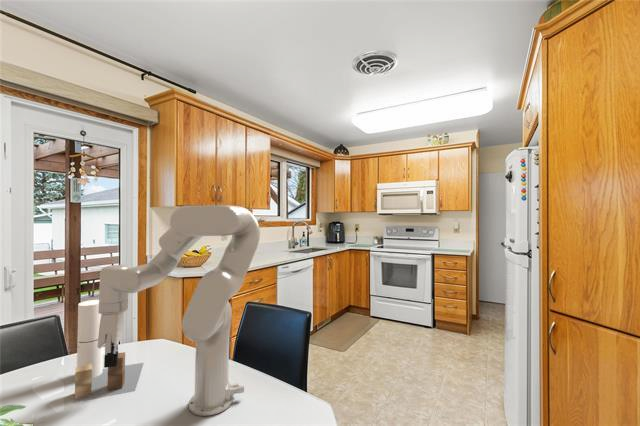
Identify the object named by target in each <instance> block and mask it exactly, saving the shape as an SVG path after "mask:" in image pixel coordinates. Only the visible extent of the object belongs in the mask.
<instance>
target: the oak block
mask: <svg viewBox="0 0 640 426" xmlns="http://www.w3.org/2000/svg"><path fill="white" fill-rule="evenodd" d="M74 369H75V371H74V372H75V375H74V376H75V379H74V399H78V398H82V397H85V396H89V395H91V386H92V364H88V365H84V366H80V367H77V366H76V367H75V368H74Z"/></svg>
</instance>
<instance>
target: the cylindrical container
mask: <svg viewBox="0 0 640 426" xmlns="http://www.w3.org/2000/svg"><path fill="white" fill-rule="evenodd" d="M77 305H78V306H77V339H76V340H77V344H76V345H77V349H76V351H77V352H76V367H80V366H84V365H88V364H92V378H95V377H97V376H99V375H100V374H101V373H102V370H103V369H104V360H103V358H104V355H103V354H104V345H103V346H102V348H98V347H97V346H98V335H99V325H100V319H101V314H99V313H98V310H99V299H93V300H92V299H91V300H90V299H89V300H86V301H82V302H79V303H78V304H77Z"/></svg>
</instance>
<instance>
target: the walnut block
mask: <svg viewBox="0 0 640 426" xmlns="http://www.w3.org/2000/svg"><path fill="white" fill-rule="evenodd" d="M125 365H126V351H125V352H118V363H117V365H116V366H114V367H107V368H108V382H107V391H111V390H117V389H122V388H123V385H124V383H125Z"/></svg>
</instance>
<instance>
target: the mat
mask: <svg viewBox="0 0 640 426" xmlns="http://www.w3.org/2000/svg"><path fill="white" fill-rule="evenodd" d="M143 366H144V362H140V363H139V362H138V363H133V364H125V383H124V385H123V388H122V389H117V390H111V391H107V382H108V367H107V368H103V370H102V373H101V374H100V375H99V376H97V377H95V378H92V386H91V395H89V396H85V397H82V398H78V399H75V398H74V399H73V401H72V403H77V402H83V401H88V400H93V399H100V398H105V397H110V396H111V397H112V396H116V395H120V394H121V395H122V394H126V393H132V392H135V391H136V388H137V386H138V382H139V379H140V376H141V373H142V369H143Z"/></svg>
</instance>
